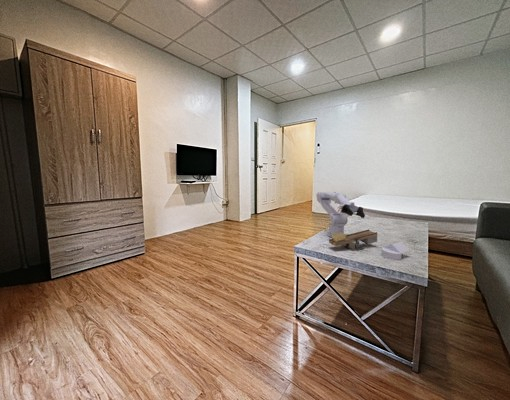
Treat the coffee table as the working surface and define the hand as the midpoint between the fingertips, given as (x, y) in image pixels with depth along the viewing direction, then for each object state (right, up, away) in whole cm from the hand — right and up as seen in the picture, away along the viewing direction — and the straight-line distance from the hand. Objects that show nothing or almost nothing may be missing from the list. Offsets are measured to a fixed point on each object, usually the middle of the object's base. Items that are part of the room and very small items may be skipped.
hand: (358, 215), depth 118 cm
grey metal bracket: (0, -19, +7) cm, 21 cm away
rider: (-9, -15, +4) cm, 18 cm away
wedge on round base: (+17, -22, -4) cm, 28 cm away
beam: (+1, -18, +7) cm, 20 cm away
